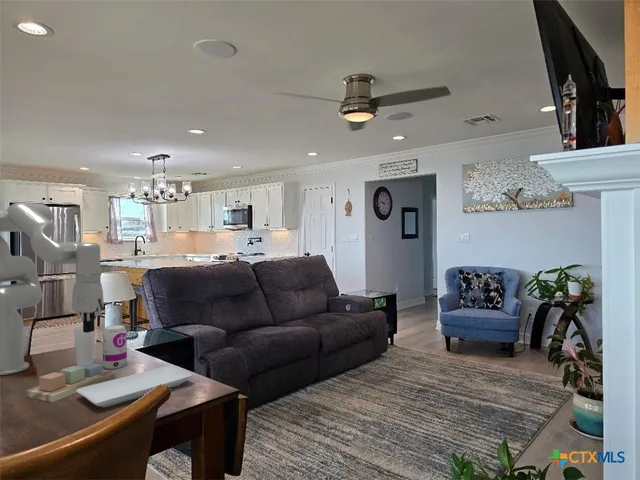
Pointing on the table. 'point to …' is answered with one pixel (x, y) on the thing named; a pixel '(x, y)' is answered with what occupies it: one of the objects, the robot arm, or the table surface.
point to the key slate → (92, 370)
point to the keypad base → (68, 388)
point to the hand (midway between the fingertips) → (88, 331)
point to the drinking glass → (84, 346)
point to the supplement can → (114, 346)
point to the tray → (132, 386)
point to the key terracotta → (52, 381)
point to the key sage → (73, 374)
